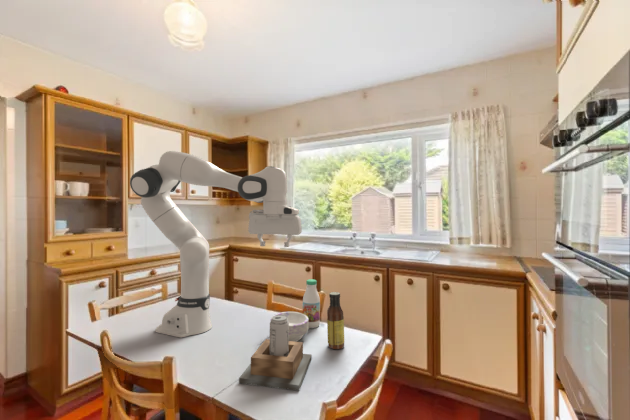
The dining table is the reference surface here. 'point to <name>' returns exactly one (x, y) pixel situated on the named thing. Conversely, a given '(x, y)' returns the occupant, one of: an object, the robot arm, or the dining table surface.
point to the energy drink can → (279, 336)
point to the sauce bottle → (335, 322)
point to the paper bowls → (296, 324)
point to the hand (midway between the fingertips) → (274, 246)
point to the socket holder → (277, 367)
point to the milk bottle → (311, 304)
